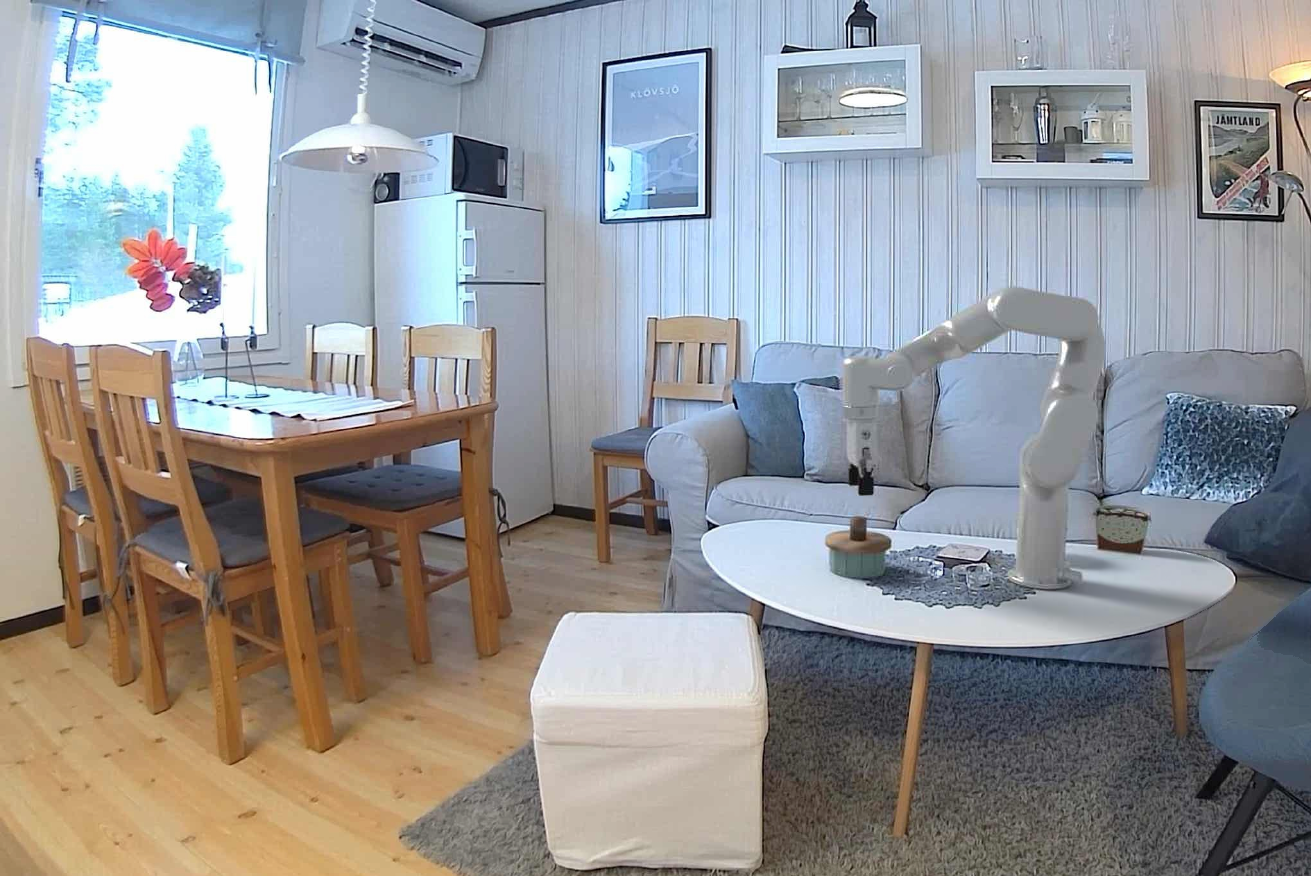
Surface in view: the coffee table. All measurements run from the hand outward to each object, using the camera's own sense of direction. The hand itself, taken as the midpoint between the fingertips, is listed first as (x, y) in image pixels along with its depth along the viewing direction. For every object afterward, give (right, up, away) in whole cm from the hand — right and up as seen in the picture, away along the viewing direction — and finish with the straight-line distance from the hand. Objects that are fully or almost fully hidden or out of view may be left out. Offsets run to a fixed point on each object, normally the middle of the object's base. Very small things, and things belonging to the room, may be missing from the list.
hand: (860, 490), depth 202 cm
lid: (0, -13, +2) cm, 13 cm away
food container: (+65, -15, +15) cm, 68 cm away
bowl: (0, -18, +3) cm, 18 cm away
